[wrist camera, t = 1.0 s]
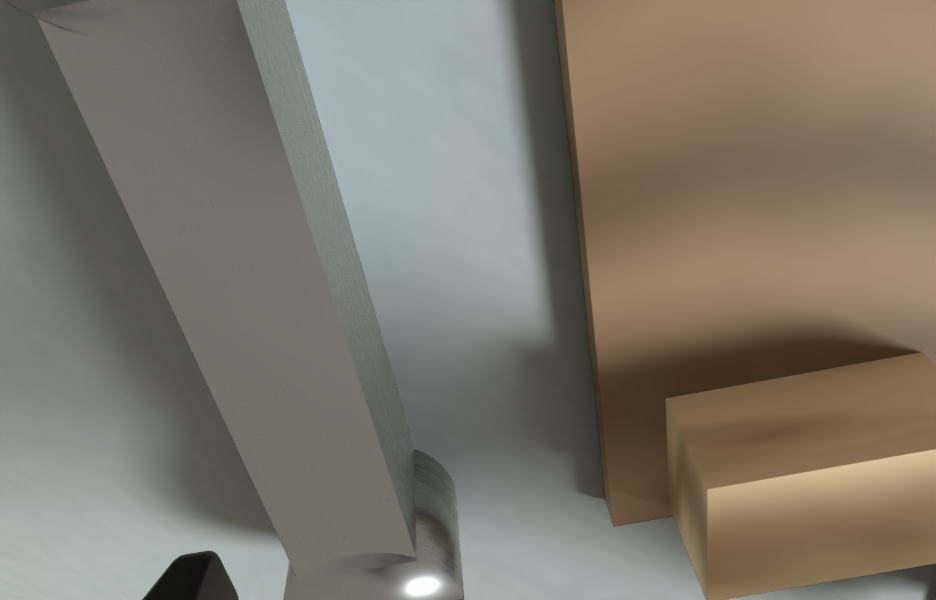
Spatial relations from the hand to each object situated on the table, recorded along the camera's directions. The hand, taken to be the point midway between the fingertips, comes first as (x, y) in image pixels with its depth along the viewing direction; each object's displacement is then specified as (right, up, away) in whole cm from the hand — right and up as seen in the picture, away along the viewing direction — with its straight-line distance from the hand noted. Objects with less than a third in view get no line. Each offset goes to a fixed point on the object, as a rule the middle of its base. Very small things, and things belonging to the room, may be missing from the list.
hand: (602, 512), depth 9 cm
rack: (+7, +6, +12) cm, 15 cm away
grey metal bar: (-6, +4, +12) cm, 14 cm away
